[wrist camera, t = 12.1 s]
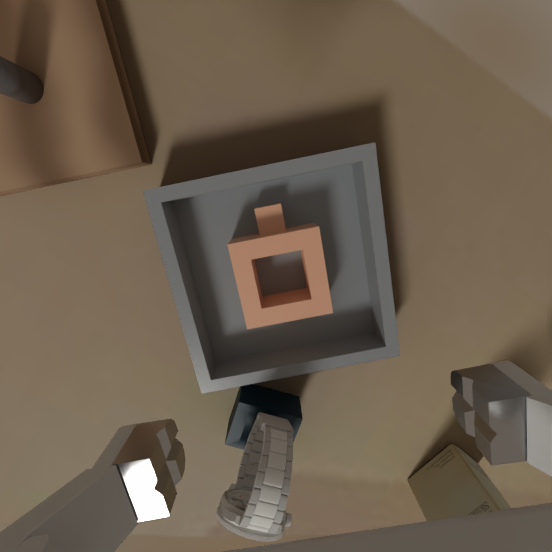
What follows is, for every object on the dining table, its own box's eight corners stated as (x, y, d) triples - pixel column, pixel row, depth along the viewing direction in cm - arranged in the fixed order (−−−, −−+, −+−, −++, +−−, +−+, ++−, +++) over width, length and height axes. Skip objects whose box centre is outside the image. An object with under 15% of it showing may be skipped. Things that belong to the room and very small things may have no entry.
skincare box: (450, 440, 32) (555, 583, 21) (480, 464, 33) (597, 614, 21) (404, 481, 33) (478, 638, 22) (433, 503, 34) (520, 666, 22)
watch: (223, 437, 32) (200, 561, 21) (247, 364, 30) (236, 460, 19) (279, 451, 32) (284, 579, 22) (306, 380, 30) (326, 482, 20)
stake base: (100, -19, 22) (35, -101, 16) (151, 164, 25) (113, 155, 19) (-69, 19, 23) (-198, -47, 16) (1, 195, 26) (-86, 197, 19)
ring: (309, 196, 26) (314, 197, 23) (326, 300, 28) (333, 312, 25) (226, 213, 26) (220, 216, 23) (249, 315, 28) (247, 329, 25)
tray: (361, 148, 25) (375, 142, 22) (384, 336, 29) (400, 355, 26) (158, 190, 26) (142, 190, 22) (209, 370, 30) (201, 393, 26)
